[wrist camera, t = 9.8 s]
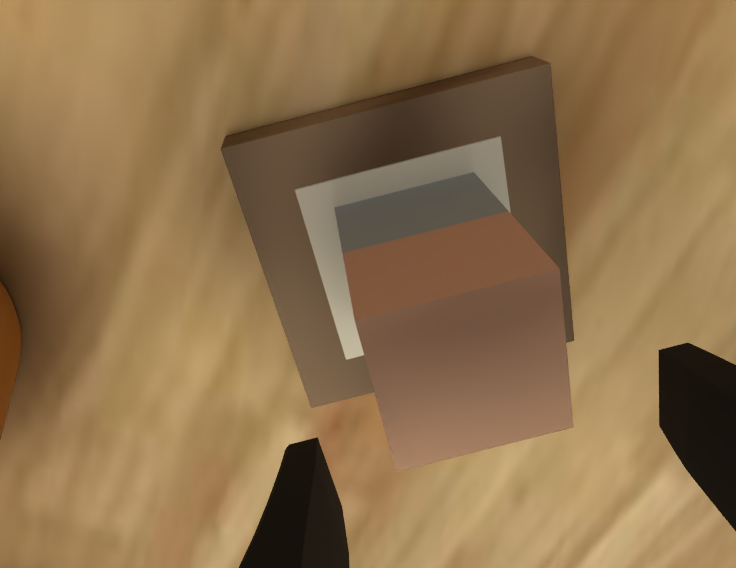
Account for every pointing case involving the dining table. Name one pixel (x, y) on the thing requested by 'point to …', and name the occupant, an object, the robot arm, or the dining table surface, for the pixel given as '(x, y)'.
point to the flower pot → (8, 351)
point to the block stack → (455, 320)
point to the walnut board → (383, 176)
